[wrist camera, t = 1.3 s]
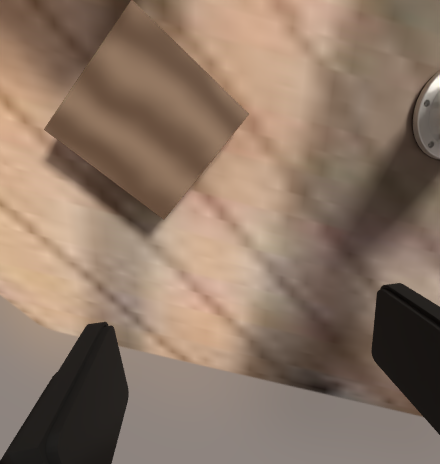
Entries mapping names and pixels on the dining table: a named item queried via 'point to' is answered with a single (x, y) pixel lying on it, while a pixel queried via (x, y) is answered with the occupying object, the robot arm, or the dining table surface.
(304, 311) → the dining table surface
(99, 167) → the walnut block
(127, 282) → the dining table surface
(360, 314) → the dining table surface
